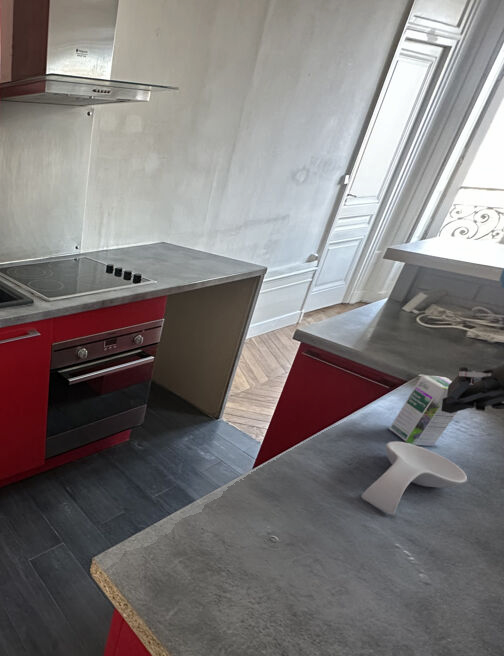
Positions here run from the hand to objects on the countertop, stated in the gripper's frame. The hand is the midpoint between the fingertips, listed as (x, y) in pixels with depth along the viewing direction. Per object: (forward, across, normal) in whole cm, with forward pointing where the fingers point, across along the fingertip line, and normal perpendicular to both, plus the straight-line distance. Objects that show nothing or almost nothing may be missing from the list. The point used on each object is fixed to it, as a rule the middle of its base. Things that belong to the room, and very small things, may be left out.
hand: (447, 406), depth 83 cm
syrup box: (+12, 0, -5) cm, 13 cm away
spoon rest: (-2, -6, -19) cm, 20 cm away
